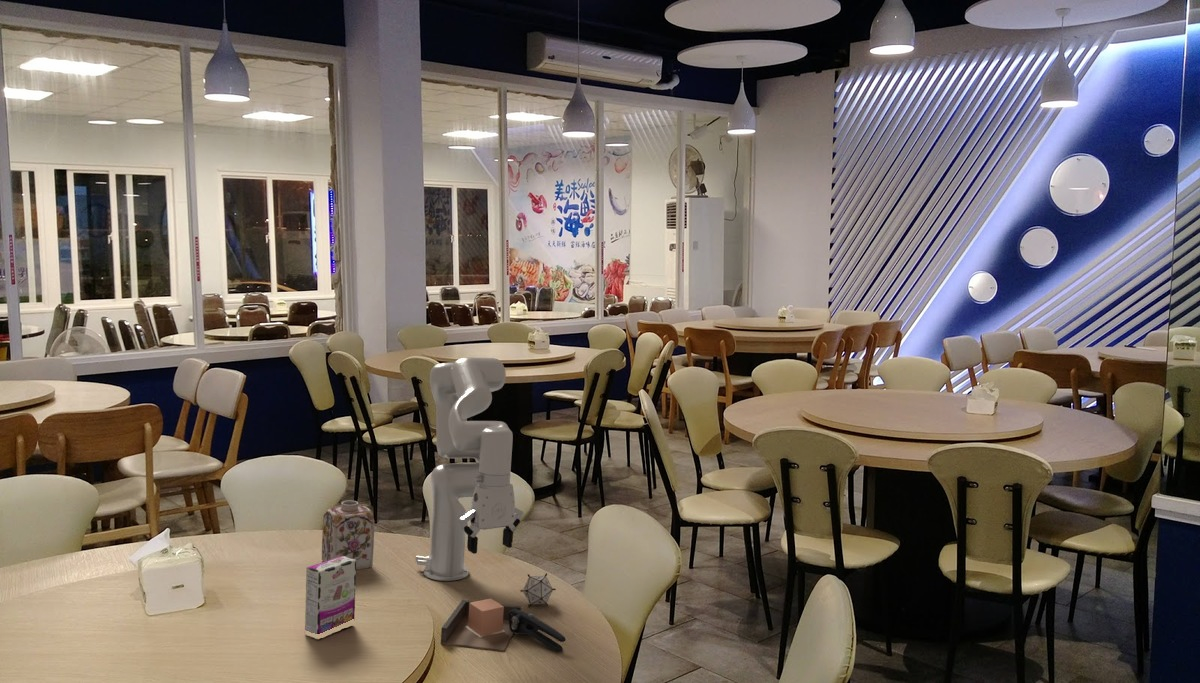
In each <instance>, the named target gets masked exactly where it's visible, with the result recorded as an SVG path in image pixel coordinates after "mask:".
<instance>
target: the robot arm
mask: <svg viewBox="0 0 1200 683" xmlns="http://www.w3.org/2000/svg"><path fill="white" fill-rule="evenodd" d="M506 378H507V373H506V369H505V366H504V364H503V362H502V361H501V360H499V359H498V358H494V357H462V358H459V359H457V360H455V362H442V363H437V364H435V365H434V366H433V367H432V368H431V370H430V374H429V387H430V391H431V395H432V398H433V401H434V404H435V409H436V410H435V411H436V424H435V425H436V428H435V429H436V440H435V441H436V450H437V453H438V456H440V457H442V458H445V459H474V460H475V462H455V463H454V462H453V463H451V462H450V463H443V464H439V465H437V466H436V467H434V468H433V470H432V472H431V475H430V483H431V493H432V517H431V520H432V521H431V534H430V537H431V538H430V552H429V553H430V554H429V555H426V556H424V555H416V557H415V563H416V565H418V566H419V565H420V566H425V567H424V568H423V575H424V576H425V577H427V578H428V579H431V580H433V581H434V580H435V581H443V582H450V581H451V582H452V581H458V580H462V579H465V578H466V577H468V576H469V571H470V570H469V568H468V567H467V566H466V565H465V562H464V561H465V552H466V550H465V549H466V547H467V551H469V552H470V553H471V554H477V553H478V542H479V541H478V540H479V537H478V536H477V535H478V534H479V532H480V531H481V530H483V531H485V530H492V529H497V528H503V530H502V545H503V546H504V547H507V548H509V549H511V548H513V546H512V545H513V541H514V540H513V539H514V532H515V531H516V529H517V527H518V526H519V525H520V524H521V523H520V522H521V519H522V518H523V515H524V511H523V510H521V509H519V508H516V504H515V503H516V502H515V501H516V500H515V491H514V485H513V484H512V483H511V469H512V468H511V467H512V455H513V454H512V452H513V439H514V438H513V431H512V430H511V429H510V428H509V426H508V424H507V423H506V422H504V421H501V420H499V421H498V420H468V419H469V418H471V417H474V416H476V415H478V414H481V413H483V412H484V411H486V410H487V409H488V408H489V406H490V405H491V404H492V400H493V394H492V393H493V392H495V391H499V390H501V389H502V388H503V386H504V385H505V382H506ZM461 498H472V500H471V506H470V511H468V512H467V511H466V509H465V506H464V505H463V504H462V503H461V502H460V500H459V499H461ZM469 521H470V525H469V524H468V522H469ZM466 535H467V543H466ZM466 545H467V546H466Z"/></svg>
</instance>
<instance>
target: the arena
mask: <svg viewBox="0 0 1200 683" xmlns="http://www.w3.org/2000/svg"><path fill="white" fill-rule="evenodd" d="M476 601H477V600H469V599H468V600H467V599H462V600H461V601H460V602H459V603H458V605H457V606H456V607H455V609H454V610H453V611H452V613H451V614H450V616H449V617H448V619H447V620H446V621H445V622H444V624H443V625H442V626H441V629H440V631H441V632H440V633H441V635H440V644H441V645H447V646H454V647H462V648H463V647H464V648H471V649H478V650H486V651H487V650H488V651H495V652H496V651H497V652H505V651H506V649H507V647H508V645H509V643H510V641H511V640H512V638H513V635H514V634H515V633H513V632H511V631H510V628H509V620H508V618H509V612H510V611H511V610H512V609H514V608H516V609H518V610H521V611H522V606H521V605H513V604H505V603H504V604H503V603H499V604H500V605H502V606H504V612H503V628H502V631H499V632H495V633H491V634H487V635H482V636H480V635H479V634H478V633H476V632H475V631H473V630H472V629H470V628H469V627H468V618H469V603H471V602H476Z"/></svg>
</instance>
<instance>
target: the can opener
mask: <svg viewBox="0 0 1200 683" xmlns="http://www.w3.org/2000/svg"><path fill="white" fill-rule="evenodd" d="M508 620H509V628H510V631H511V632H513V633H514V634H515V635H516V634H517V635H529V636H531V637H533V639H536V640H537V641H538V642H539V643H541V644H542V645H544V646H545V647H547V648H549V649H551V650H553V651H556V652H563V651H564V649H563V647H562V645H561V644H559V643H558V642H561V643H564V642H566V637H565V636H564V635H563V634H562V633H560V632H559V631H557V630H556V629H554V628H553V627H552V626H550V625H549V624H547V623H546V622H544V621H542V620H541V619H538V618H537V617H534V614H533V613H527V612H526V611H523V610H522V609H521V610H518V609H516V608H514V609H512V610H511V611H510V612H509V618H508ZM547 635H548V636H549V637H548V636H547ZM550 637H551V638H553V639H555V640H557V642H556V641H555V640H553V639H551V638H550Z"/></svg>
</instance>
